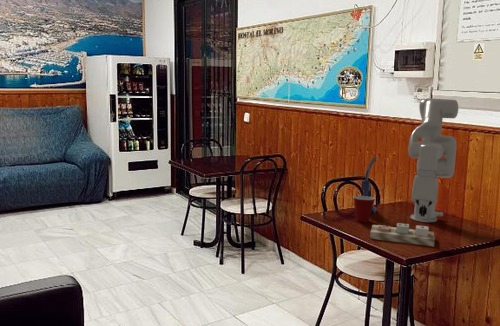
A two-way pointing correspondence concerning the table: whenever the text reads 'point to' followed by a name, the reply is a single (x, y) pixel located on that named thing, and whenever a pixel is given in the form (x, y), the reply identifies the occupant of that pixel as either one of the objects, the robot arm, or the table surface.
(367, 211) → the plastic cup
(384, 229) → the tile three
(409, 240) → the board
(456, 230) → the table surface
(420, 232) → the tile one
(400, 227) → the tile two
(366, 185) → the hand press
